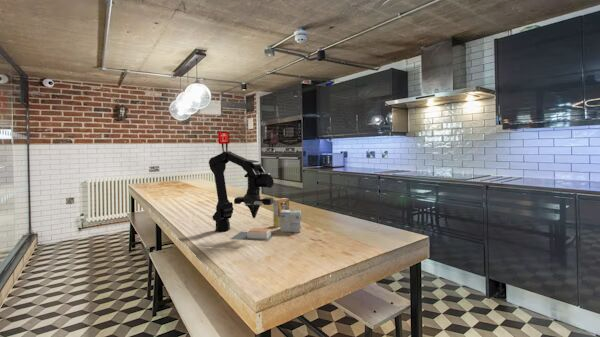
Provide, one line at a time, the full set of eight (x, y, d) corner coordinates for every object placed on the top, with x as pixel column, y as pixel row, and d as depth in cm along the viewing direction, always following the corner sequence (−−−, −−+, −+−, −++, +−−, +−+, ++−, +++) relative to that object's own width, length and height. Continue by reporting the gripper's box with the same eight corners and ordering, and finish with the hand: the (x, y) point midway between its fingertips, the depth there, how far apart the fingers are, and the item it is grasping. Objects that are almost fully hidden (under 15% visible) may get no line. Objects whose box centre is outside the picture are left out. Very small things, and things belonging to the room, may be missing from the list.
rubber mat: (229, 239, 157) (229, 239, 157) (241, 232, 171) (241, 231, 170) (267, 242, 153) (267, 241, 153) (276, 234, 167) (275, 233, 166)
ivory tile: (247, 231, 158) (266, 232, 156) (252, 227, 165) (271, 228, 163) (247, 237, 159) (266, 238, 157) (252, 234, 165) (271, 235, 163)
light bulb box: (301, 229, 176) (301, 209, 175) (300, 232, 169) (300, 212, 168) (282, 229, 177) (281, 209, 176) (280, 232, 170) (279, 211, 170)
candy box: (284, 223, 188) (284, 197, 187) (289, 225, 186) (289, 198, 184) (273, 226, 182) (272, 199, 181) (278, 228, 179) (278, 200, 178)
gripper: (229, 188, 154) (229, 220, 155) (266, 189, 150) (267, 222, 151) (238, 185, 165) (238, 216, 166) (273, 186, 161) (274, 217, 162)
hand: (254, 218), depth 161 cm, fingers closed
